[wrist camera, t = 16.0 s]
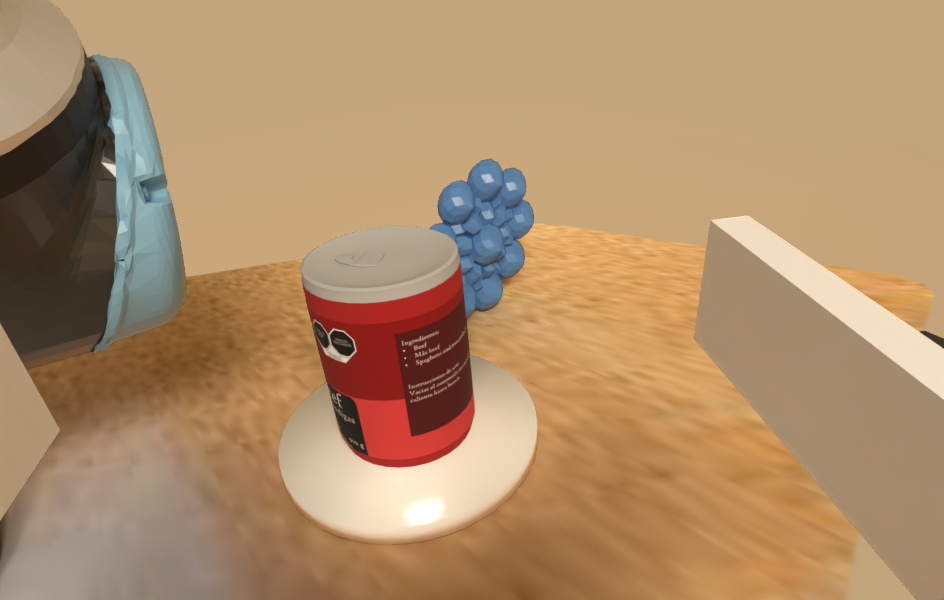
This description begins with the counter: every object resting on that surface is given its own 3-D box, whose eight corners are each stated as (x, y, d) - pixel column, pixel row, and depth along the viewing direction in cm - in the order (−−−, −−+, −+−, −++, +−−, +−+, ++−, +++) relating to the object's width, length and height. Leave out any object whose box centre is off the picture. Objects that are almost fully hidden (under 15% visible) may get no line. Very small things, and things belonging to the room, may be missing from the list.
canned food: (352, 388, 38) (316, 230, 33) (475, 379, 38) (460, 219, 33) (328, 477, 32) (279, 297, 26) (478, 467, 31) (459, 283, 26)
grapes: (496, 268, 54) (487, 137, 49) (553, 290, 50) (551, 148, 44) (395, 320, 48) (371, 175, 42) (452, 351, 43) (433, 193, 37)
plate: (227, 508, 32) (220, 492, 31) (361, 353, 44) (358, 339, 43) (493, 577, 27) (492, 559, 26) (561, 381, 39) (561, 366, 39)
